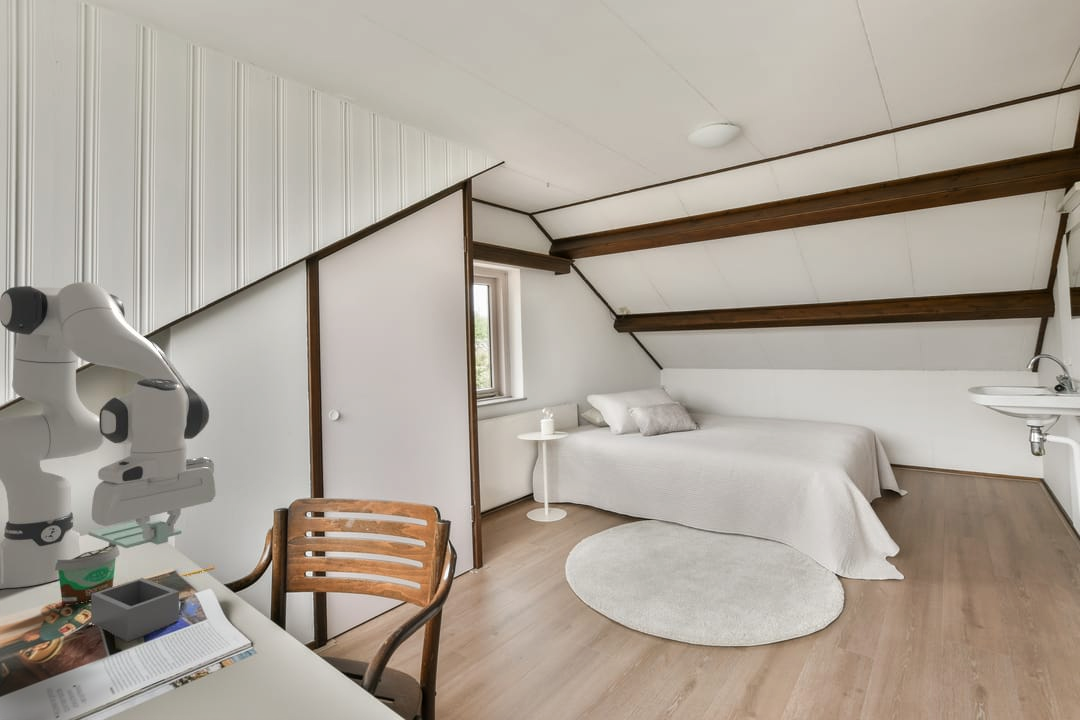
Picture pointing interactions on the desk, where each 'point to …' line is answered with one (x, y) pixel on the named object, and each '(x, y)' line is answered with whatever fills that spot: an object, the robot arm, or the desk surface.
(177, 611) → the tub
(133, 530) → the lid
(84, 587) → the food container
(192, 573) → the pencil
